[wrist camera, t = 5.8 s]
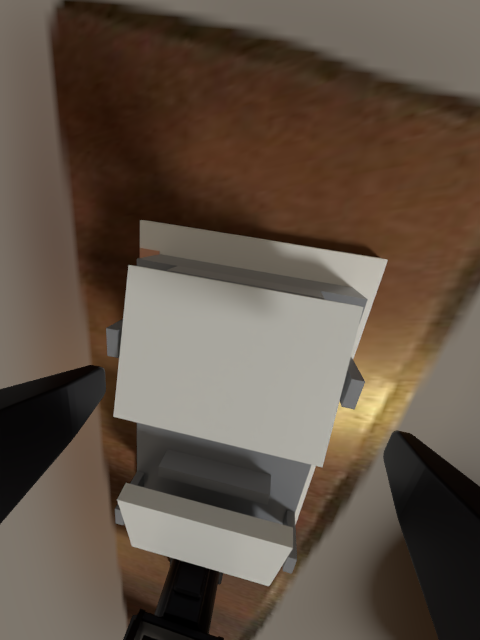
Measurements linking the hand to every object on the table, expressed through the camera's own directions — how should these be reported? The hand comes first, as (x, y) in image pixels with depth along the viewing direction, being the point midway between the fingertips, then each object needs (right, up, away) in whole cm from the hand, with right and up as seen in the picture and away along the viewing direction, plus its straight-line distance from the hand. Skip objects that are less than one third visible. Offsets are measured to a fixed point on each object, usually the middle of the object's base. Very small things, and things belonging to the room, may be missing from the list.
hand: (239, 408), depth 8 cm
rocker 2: (-3, -12, +10) cm, 16 cm away
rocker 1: (-1, +1, +5) cm, 5 cm away
